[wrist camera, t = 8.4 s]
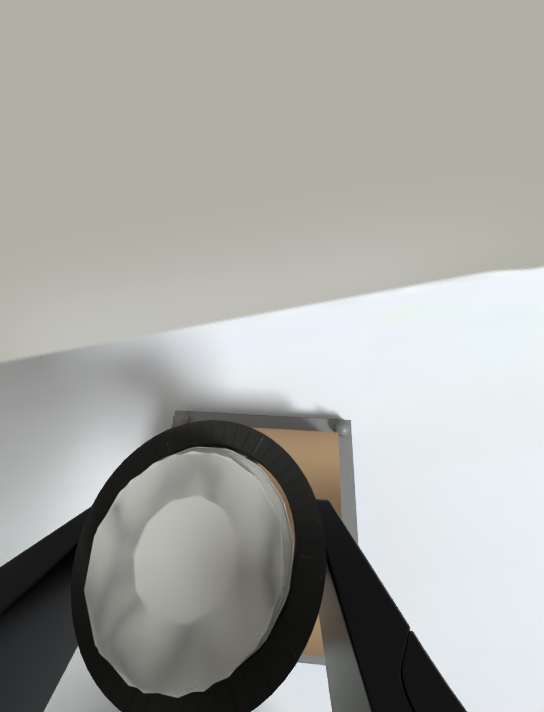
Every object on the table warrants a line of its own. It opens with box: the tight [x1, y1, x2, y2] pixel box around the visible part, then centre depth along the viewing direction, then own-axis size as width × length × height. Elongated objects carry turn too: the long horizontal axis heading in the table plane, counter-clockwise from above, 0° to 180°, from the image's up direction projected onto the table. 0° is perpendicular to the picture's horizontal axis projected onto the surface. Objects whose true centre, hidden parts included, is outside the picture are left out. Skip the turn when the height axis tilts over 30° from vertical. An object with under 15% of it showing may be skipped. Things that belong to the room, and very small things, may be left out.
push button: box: [71, 420, 326, 712], centre depth 9 cm, size 7×5×10 cm
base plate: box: [172, 411, 358, 665], centre depth 18 cm, size 13×13×2 cm
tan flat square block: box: [177, 423, 342, 657], centre depth 16 cm, size 10×10×3 cm
